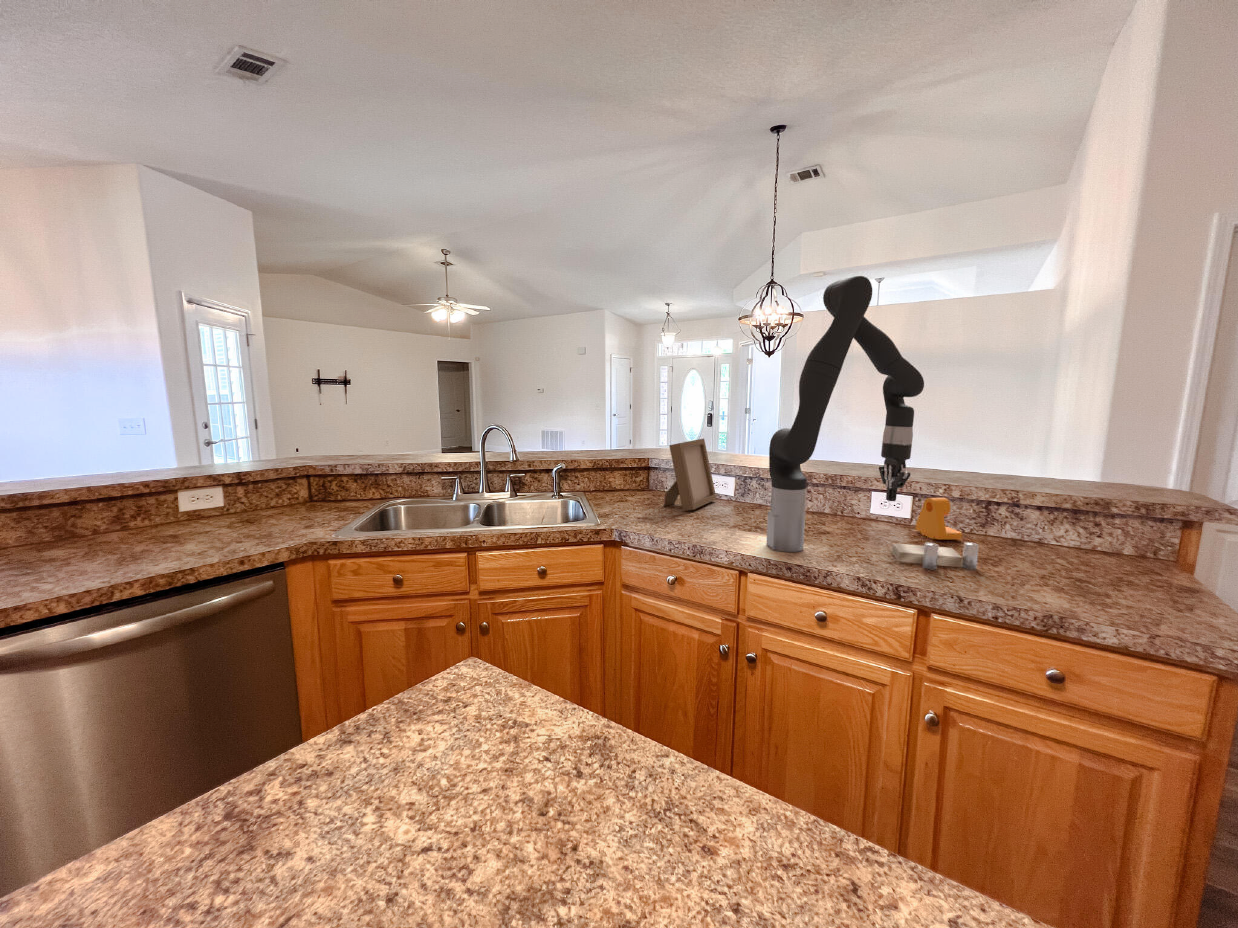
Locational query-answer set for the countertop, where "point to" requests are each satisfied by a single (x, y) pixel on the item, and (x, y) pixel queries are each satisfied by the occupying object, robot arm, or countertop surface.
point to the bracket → (936, 520)
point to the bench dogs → (967, 562)
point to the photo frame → (691, 475)
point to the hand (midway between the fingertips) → (890, 500)
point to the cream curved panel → (917, 551)
